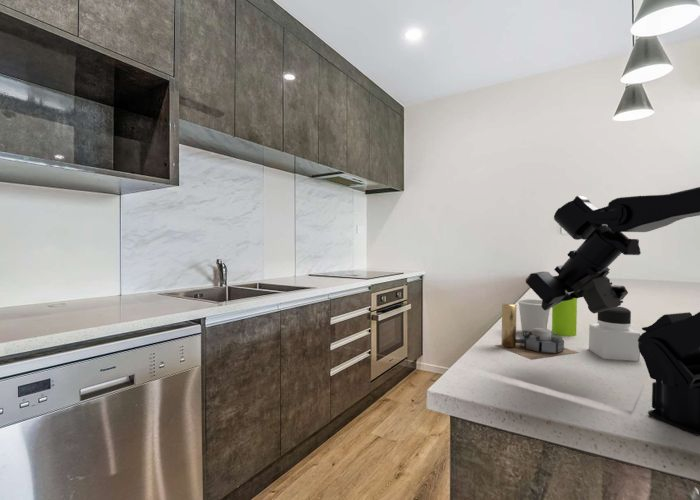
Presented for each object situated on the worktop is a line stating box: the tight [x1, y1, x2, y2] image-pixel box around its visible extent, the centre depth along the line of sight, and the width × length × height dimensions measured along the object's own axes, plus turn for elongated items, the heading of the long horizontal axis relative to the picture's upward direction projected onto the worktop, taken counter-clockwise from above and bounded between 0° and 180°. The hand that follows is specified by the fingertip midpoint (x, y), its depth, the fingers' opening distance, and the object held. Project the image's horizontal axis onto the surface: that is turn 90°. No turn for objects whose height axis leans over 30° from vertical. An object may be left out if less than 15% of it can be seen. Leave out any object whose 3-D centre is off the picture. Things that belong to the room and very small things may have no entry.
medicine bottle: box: [588, 306, 641, 362], centre depth 80 cm, size 7×7×12 cm
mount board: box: [495, 328, 580, 361], centre depth 84 cm, size 11×14×5 cm
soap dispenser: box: [551, 298, 578, 337], centre depth 98 cm, size 6×7×20 cm
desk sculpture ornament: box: [501, 303, 565, 353], centre depth 85 cm, size 9×14×10 cm, turn 81°
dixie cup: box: [517, 298, 551, 334], centre depth 98 cm, size 8×8×10 cm
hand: (544, 308), depth 76 cm, fingers closed
